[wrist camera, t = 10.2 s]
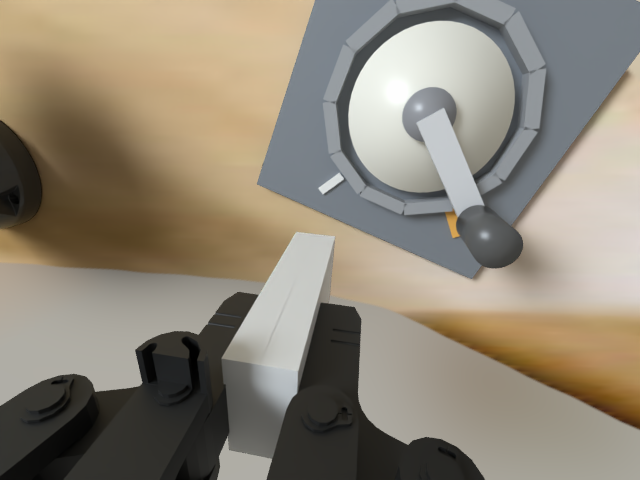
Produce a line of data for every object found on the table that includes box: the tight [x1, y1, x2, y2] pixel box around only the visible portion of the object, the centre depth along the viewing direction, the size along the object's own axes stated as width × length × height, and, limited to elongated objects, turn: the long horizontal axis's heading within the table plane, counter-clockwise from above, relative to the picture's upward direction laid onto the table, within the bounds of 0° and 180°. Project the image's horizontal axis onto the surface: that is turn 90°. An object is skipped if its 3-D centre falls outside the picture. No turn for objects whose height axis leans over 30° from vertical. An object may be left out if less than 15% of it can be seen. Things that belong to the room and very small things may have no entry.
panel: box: [257, 0, 640, 279], centre depth 29 cm, size 26×26×2 cm
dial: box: [348, 21, 523, 268], centre depth 26 cm, size 20×14×8 cm
